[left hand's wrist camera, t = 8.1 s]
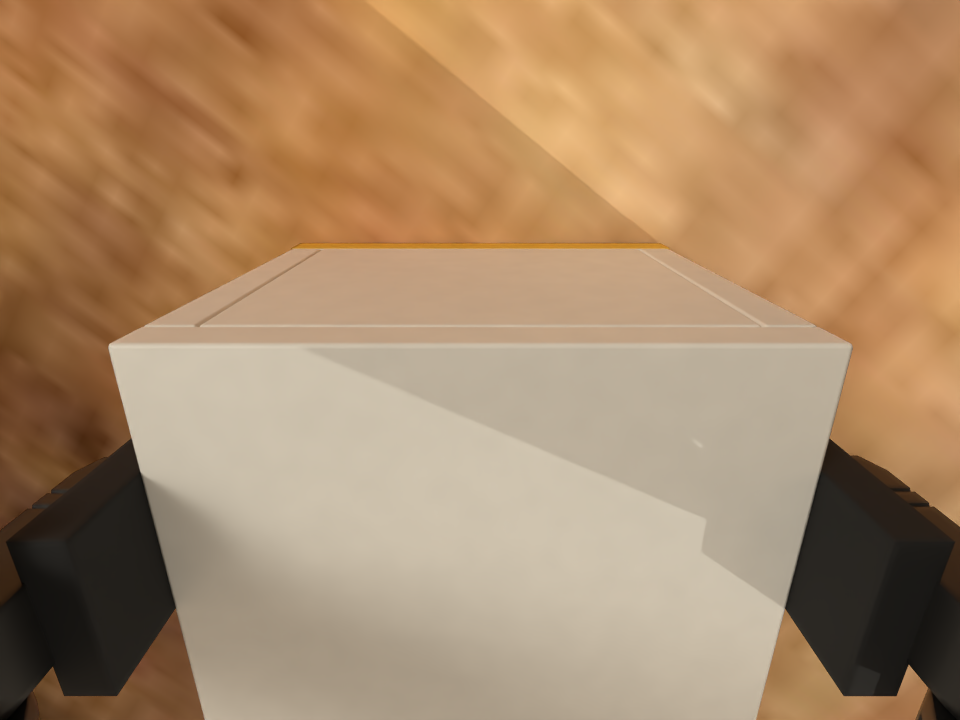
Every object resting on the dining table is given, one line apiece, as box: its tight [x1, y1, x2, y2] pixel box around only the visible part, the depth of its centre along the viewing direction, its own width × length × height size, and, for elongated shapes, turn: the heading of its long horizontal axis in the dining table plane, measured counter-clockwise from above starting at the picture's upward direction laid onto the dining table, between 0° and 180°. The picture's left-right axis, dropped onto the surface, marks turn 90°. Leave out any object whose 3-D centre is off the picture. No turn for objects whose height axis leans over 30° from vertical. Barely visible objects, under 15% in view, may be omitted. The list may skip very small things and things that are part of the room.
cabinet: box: [108, 243, 853, 720], centre depth 14 cm, size 14×10×9 cm
